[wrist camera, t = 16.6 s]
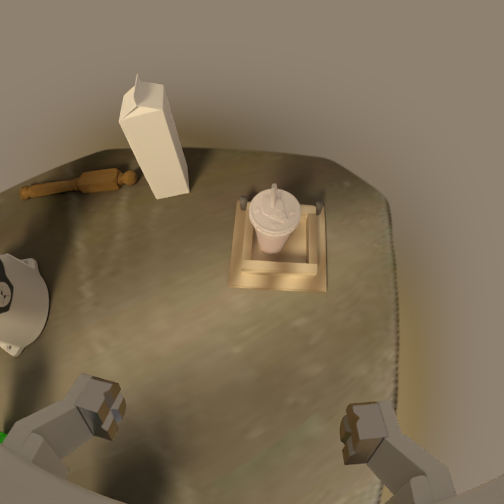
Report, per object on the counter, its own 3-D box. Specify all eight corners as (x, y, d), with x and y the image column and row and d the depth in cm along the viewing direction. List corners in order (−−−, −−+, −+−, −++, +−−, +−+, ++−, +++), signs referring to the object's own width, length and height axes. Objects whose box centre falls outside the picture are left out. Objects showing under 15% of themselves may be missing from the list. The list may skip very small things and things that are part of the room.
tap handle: (21, 184, 50) (135, 165, 49) (28, 191, 53) (140, 175, 52) (16, 195, 49) (131, 179, 48) (24, 202, 52) (137, 188, 51)
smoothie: (274, 216, 47) (280, 157, 34) (301, 246, 45) (319, 194, 32) (241, 239, 45) (236, 184, 32) (268, 271, 43) (274, 226, 30)
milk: (156, 200, 50) (108, 104, 29) (156, 173, 52) (115, 78, 32) (190, 193, 50) (156, 91, 30) (188, 166, 52) (159, 66, 32)
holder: (228, 287, 43) (226, 279, 40) (237, 204, 49) (236, 192, 46) (325, 292, 43) (330, 285, 40) (322, 209, 48) (327, 197, 45)
